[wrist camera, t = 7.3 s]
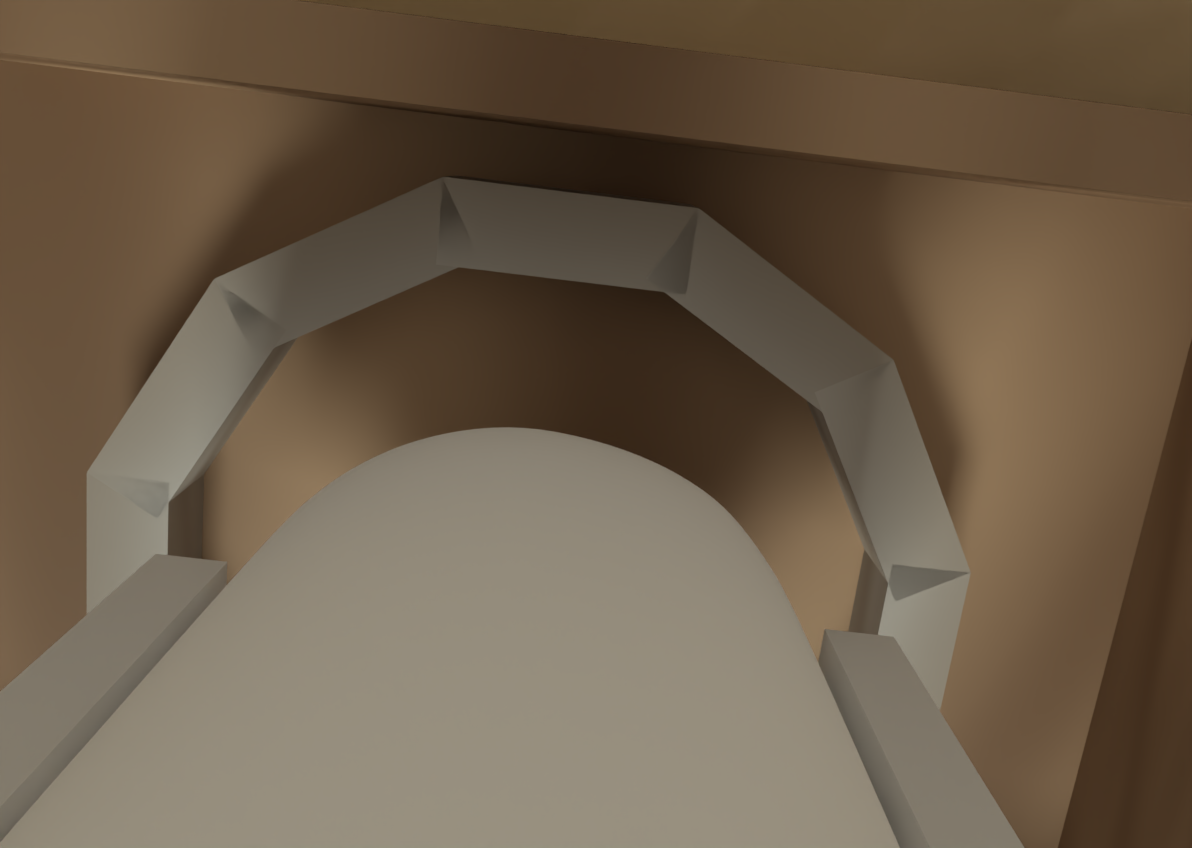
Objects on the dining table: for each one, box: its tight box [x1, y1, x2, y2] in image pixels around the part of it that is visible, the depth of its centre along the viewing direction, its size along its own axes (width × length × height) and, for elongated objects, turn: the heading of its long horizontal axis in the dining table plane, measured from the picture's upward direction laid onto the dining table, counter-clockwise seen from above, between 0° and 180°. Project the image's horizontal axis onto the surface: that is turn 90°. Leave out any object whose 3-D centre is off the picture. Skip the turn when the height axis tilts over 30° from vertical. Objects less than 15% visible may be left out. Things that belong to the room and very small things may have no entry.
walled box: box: [0, 0, 1192, 848], centre depth 13 cm, size 18×14×4 cm
